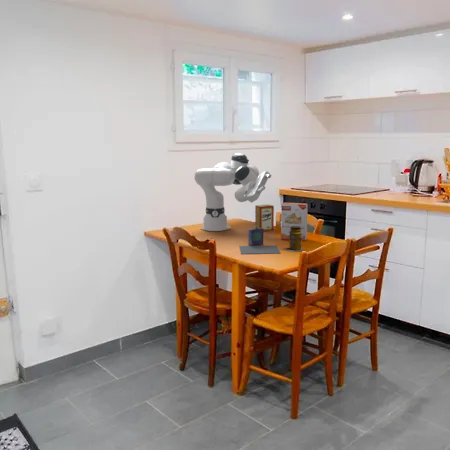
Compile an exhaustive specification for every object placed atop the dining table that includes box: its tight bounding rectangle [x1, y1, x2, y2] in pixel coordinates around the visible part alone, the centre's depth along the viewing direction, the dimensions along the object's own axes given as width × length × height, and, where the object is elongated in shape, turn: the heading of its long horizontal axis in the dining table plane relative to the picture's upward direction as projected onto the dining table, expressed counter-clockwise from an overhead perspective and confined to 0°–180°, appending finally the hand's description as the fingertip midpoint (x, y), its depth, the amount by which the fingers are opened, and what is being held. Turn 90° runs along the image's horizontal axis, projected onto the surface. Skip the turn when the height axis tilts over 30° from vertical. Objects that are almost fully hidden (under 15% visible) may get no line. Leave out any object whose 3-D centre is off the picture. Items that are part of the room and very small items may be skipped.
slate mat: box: [239, 244, 282, 255], centre depth 247 cm, size 17×20×1 cm
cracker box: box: [280, 202, 309, 242], centre depth 269 cm, size 14×6×21 cm, turn 70°
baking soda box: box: [254, 204, 275, 232], centre depth 298 cm, size 10×6×16 cm
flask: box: [247, 224, 264, 246], centre depth 257 cm, size 9×3×11 cm, turn 117°
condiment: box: [283, 226, 305, 252], centre depth 246 cm, size 7×8×12 cm
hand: (267, 181), depth 266 cm, fingers open, 8 cm apart
